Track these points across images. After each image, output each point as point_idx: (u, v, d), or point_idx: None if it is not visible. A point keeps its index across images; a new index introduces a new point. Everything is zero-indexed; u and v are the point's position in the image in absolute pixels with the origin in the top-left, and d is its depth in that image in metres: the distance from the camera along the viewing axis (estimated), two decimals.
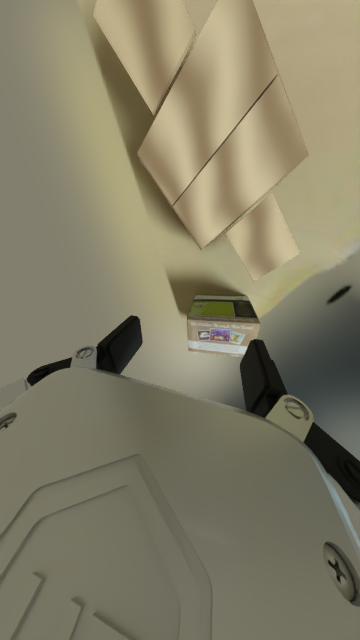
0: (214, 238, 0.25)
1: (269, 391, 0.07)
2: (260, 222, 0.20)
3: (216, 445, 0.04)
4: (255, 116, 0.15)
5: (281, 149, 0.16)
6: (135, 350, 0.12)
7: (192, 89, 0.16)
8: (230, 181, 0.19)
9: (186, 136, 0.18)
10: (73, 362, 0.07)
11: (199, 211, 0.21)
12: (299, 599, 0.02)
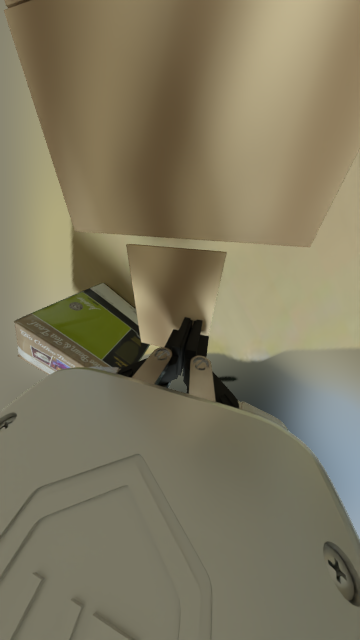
0: None
1: (188, 353, 0.08)
2: (185, 281, 0.10)
3: (216, 445, 0.04)
4: None
5: (295, 181, 0.06)
6: None
7: None
8: (177, 132, 0.06)
9: None
10: (149, 358, 0.08)
11: (85, 132, 0.07)
12: (299, 598, 0.02)
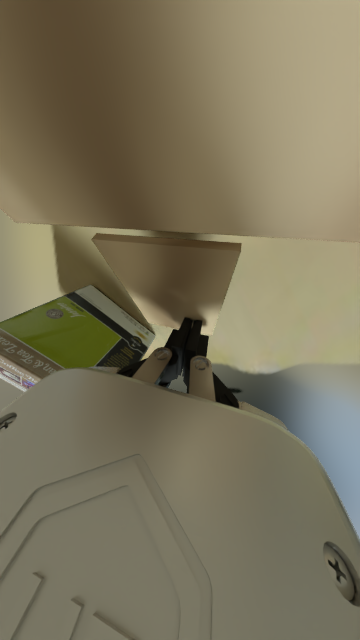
0: None
1: (188, 353, 0.08)
2: (183, 280, 0.08)
3: (216, 445, 0.04)
4: None
5: None
6: None
7: None
8: None
9: None
10: (149, 358, 0.08)
11: None
12: (299, 599, 0.02)
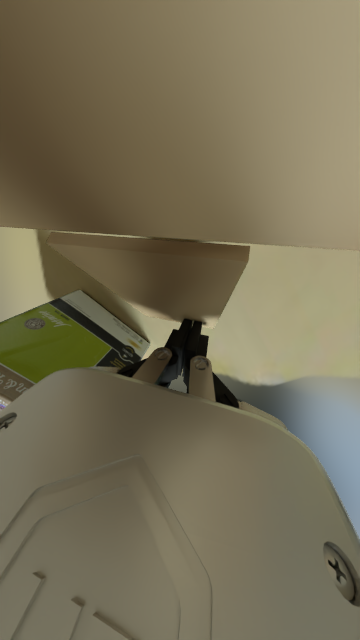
0: None
1: (188, 353, 0.08)
2: (173, 287, 0.06)
3: (216, 445, 0.04)
4: None
5: None
6: None
7: None
8: None
9: None
10: (149, 358, 0.08)
11: None
12: (299, 599, 0.02)
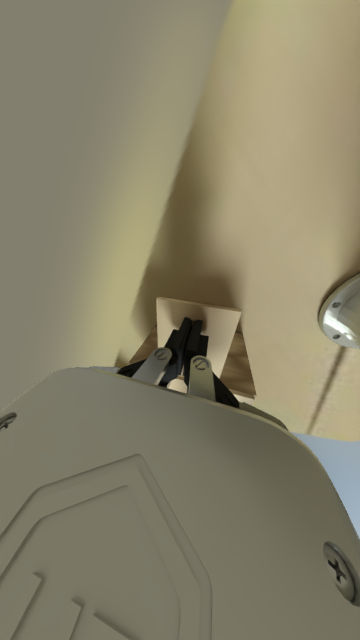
0: None
1: (188, 353, 0.08)
2: None
3: (216, 445, 0.04)
4: None
5: None
6: None
7: None
8: None
9: None
10: (149, 358, 0.08)
11: None
12: (299, 599, 0.02)
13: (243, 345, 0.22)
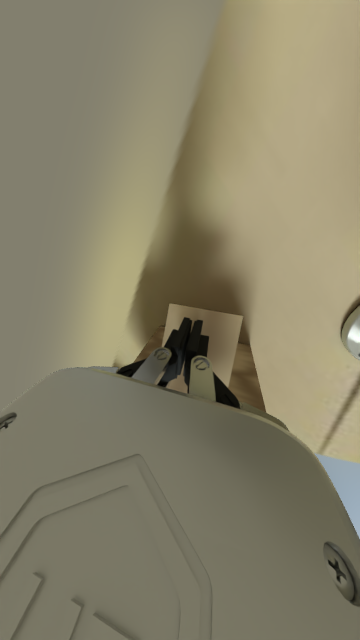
0: None
1: (188, 353, 0.08)
2: None
3: (216, 445, 0.04)
4: None
5: None
6: None
7: None
8: None
9: None
10: (149, 357, 0.08)
11: None
12: (299, 599, 0.02)
13: (251, 361, 0.19)
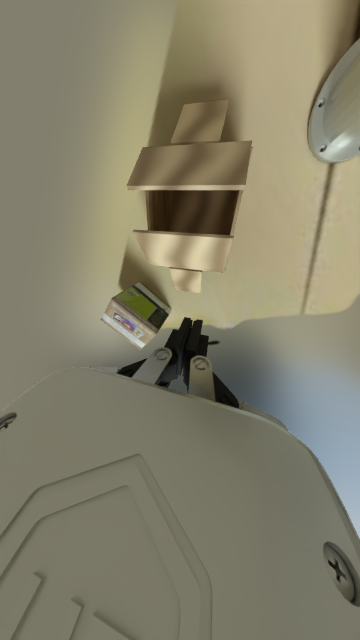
0: None
1: (188, 353, 0.08)
2: (190, 276, 0.30)
3: (216, 446, 0.04)
4: (212, 242, 0.20)
5: (215, 263, 0.24)
6: None
7: (198, 153, 0.18)
8: (183, 253, 0.24)
9: (175, 165, 0.18)
10: (149, 358, 0.08)
11: (155, 249, 0.24)
12: (299, 599, 0.02)
13: None
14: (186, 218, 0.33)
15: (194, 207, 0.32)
